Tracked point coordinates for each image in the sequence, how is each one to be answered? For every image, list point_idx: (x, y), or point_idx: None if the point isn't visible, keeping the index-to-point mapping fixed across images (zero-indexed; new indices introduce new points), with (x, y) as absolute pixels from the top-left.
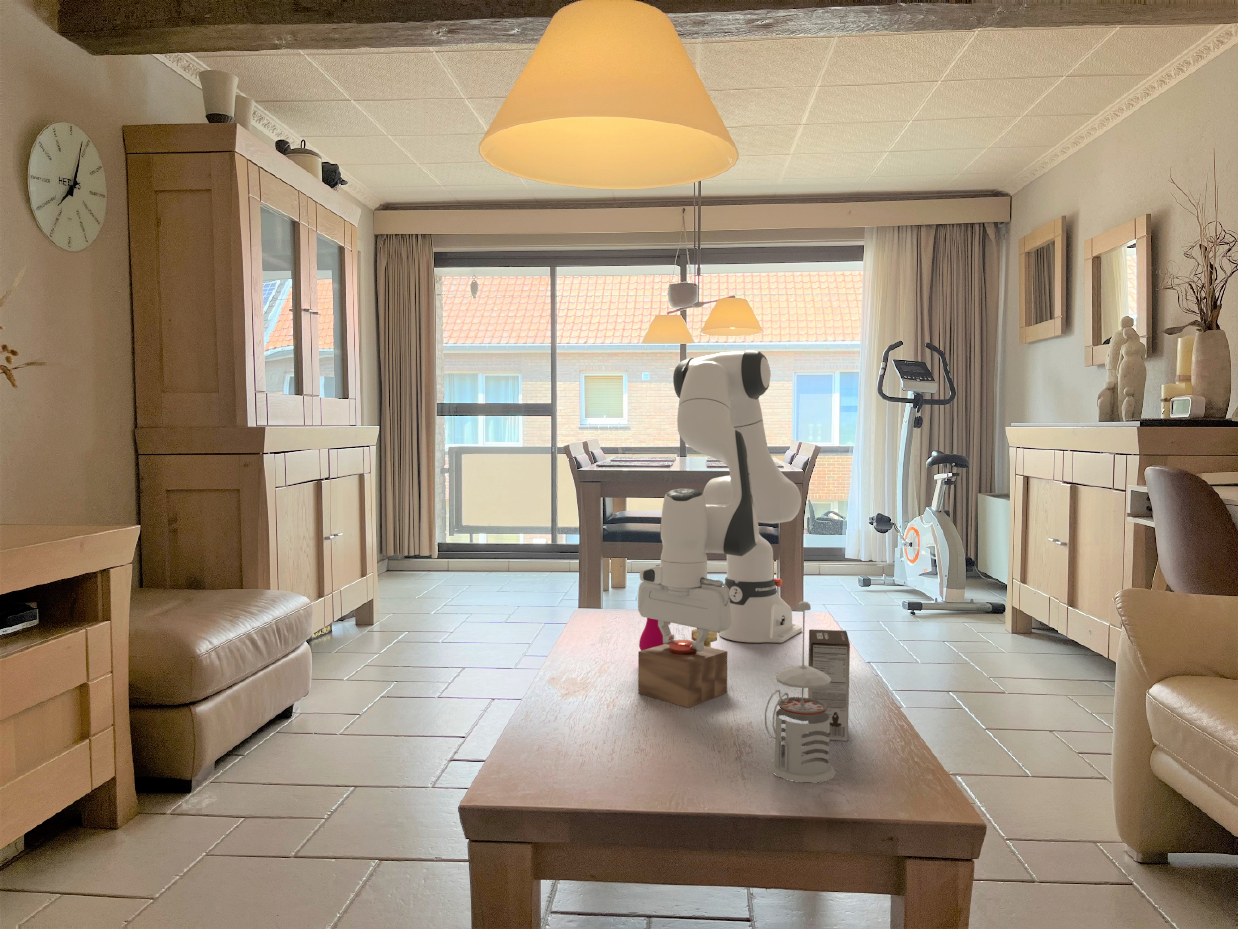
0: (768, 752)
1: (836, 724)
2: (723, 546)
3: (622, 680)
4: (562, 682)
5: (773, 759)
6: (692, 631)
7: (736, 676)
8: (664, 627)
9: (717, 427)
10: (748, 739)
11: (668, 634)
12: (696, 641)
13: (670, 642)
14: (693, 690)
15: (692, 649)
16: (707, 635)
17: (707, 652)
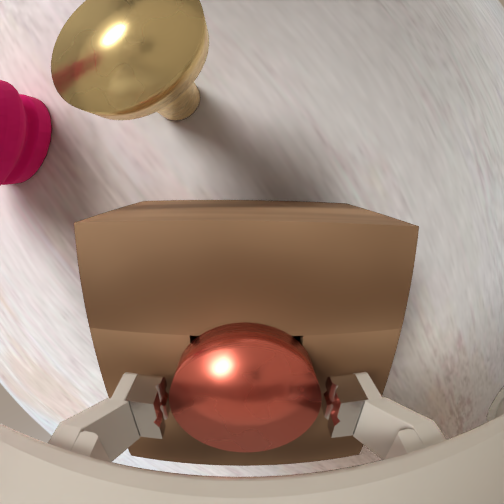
0: (487, 394)
1: None
2: None
3: (58, 314)
4: (26, 389)
5: (493, 409)
6: (66, 95)
7: (266, 37)
8: (104, 449)
9: None
10: (465, 389)
11: (131, 416)
12: (359, 437)
13: (190, 430)
14: None
15: (322, 408)
16: (416, 416)
17: (354, 319)
